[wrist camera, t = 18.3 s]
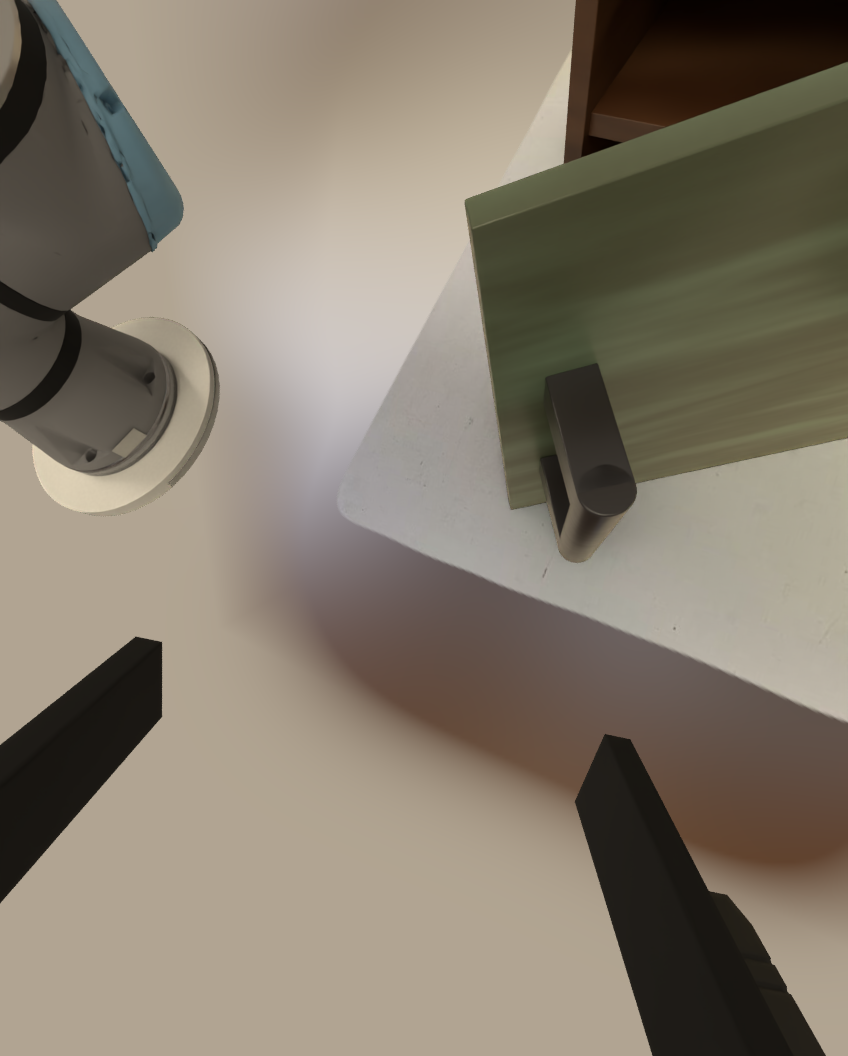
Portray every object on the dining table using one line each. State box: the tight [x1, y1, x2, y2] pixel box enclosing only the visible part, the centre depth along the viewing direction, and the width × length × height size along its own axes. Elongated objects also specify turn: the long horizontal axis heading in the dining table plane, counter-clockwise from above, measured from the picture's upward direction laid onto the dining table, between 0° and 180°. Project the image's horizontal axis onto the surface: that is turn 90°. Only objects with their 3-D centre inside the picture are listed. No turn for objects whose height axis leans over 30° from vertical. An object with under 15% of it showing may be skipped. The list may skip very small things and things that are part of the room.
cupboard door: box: [465, 62, 848, 563], centre depth 18 cm, size 7×26×24 cm, turn 99°
